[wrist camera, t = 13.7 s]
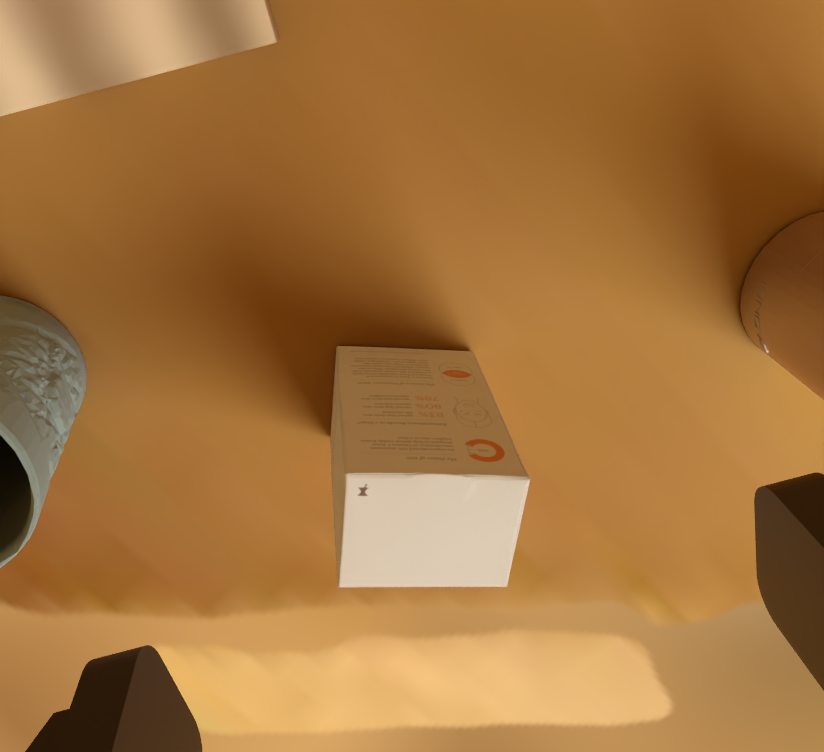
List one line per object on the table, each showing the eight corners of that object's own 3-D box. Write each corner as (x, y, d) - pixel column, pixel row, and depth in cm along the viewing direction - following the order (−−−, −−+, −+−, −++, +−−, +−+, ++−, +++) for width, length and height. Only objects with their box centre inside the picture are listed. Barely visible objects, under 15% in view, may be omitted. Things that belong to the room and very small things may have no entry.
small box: (329, 440, 46) (333, 591, 34) (335, 342, 43) (342, 471, 32) (462, 443, 47) (509, 590, 35) (476, 349, 44) (532, 475, 33)
